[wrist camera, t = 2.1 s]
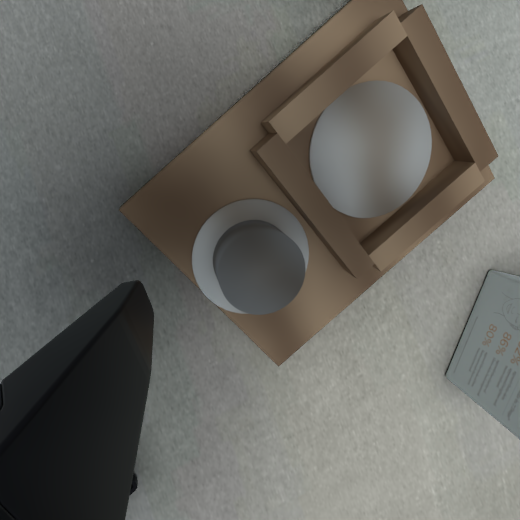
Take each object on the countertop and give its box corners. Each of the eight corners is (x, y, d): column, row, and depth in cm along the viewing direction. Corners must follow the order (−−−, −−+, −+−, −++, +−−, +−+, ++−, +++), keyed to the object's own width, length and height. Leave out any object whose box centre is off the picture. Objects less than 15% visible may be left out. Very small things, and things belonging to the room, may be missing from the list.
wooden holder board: (273, 357, 23) (291, 393, 20) (120, 206, 19) (112, 221, 16) (481, 176, 23) (533, 183, 20) (375, -22, 18) (420, -56, 15)
